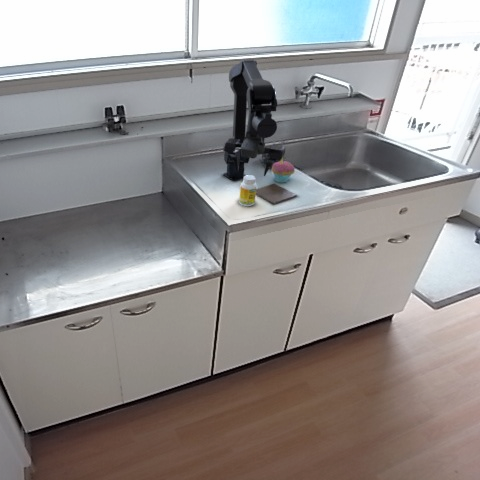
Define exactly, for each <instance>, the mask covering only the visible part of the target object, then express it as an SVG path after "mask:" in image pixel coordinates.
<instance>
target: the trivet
mask: <svg viewBox="0 0 480 480" xmlns="http://www.w3.org/2000/svg"><path fill="white" fill-rule="evenodd" d="M256 196H258V197H259V198H261V199H263V200H265V201H267V202H268V203H270V204H272V205H276V204H277V205H278V204H280V203H283V202H285V201H288V200H291V199H294V198H297V196H298V195H297V194H295V193H293V192H292V191H290V190H288V189H286V188H284V187H282V186H280V185H278V184H276V183H272V184H269V185H266V186H262V187H260V188H257V189H256Z"/></svg>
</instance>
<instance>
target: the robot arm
mask: <svg viewBox="0 0 480 480" xmlns="http://www.w3.org/2000/svg"><path fill="white" fill-rule="evenodd" d="M228 81H229V86H230V87H229V88H230V89H231V90H232V93H233V95H234V96H233V98H234V99H233V100H234V101H233V122H232V123H233V124H232V136H231V137H229V138H228V139H227V140H226V141H225V142H224V144H223V149H222V151H223V152H224V153H223V160H224V163H225V164H226V172H224V173H223V174H222V175H223V176H224V177H226V178H227V179H229V180H231V181H237V180H241V179H243V178H244V176H246V175H247V174H246V175H245V164H249V162H250V159H256V158H257V157H258V156H260V155H261V156H262V155H263V153H268V154H269V157H268V159H267V164H266V166H265V168H264V172H263V176H264V177H266V175H267V174H268V172H269V170H270V169H271V167H270V166H271V164H272V163H273V161H277V160H282V158H283V157H284V156H285V154H286V147H285V145H283V144H275V143H273V144H271V146H272V147H271V148H270V146H266V143H265V139H268V138H271V137H273V136H274V135H275V134H276V132H277V130H278V123H277V122H276V120H275V119H274V118H273V114H272V112H277V107H278V98H277V92H276V88H275V87H274V85H273V83H271V81H269V80H266V79H264V78H263V75H262V74H261V71H260V69H259V68H258V63H257V60H255V59H243V60H240V61H239V63H238V64H235V65H234V66H232V67H231V69H230V70H229V72H228ZM247 108H248V109H247ZM247 110H248V117H247ZM283 159H284V158H283Z"/></svg>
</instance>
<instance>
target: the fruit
mask: <svg viewBox="0 0 480 480" xmlns="http://www.w3.org/2000/svg"><path fill="white" fill-rule="evenodd" d="M269 147H270V148H271V147H272V145H270V146H269ZM268 157H269V154H268V153H263V155H262V154H261V161H260V163H261V164H263V166H264V167H266V164H267V159H268ZM283 159H284V156H283ZM279 161H281V160H277V161H273V163H272V164H271V166H270V168H272V165H273V164H274V163H276V162H279Z"/></svg>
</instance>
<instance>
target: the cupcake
mask: <svg viewBox="0 0 480 480" xmlns="http://www.w3.org/2000/svg"><path fill="white" fill-rule="evenodd" d="M270 169H271V172H272V174H273V176H274V180H275V181H276V182H278V183H286V182H288V181H289V179H290V177H291V176H292V175H293V174H294V173H295V171H296V168H295V165H293V164H292V163H291V162H289V161H286V160H284V158H282V160H281V161H279V162H276V163H274V164H273V165H272V167H271V168H270Z"/></svg>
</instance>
